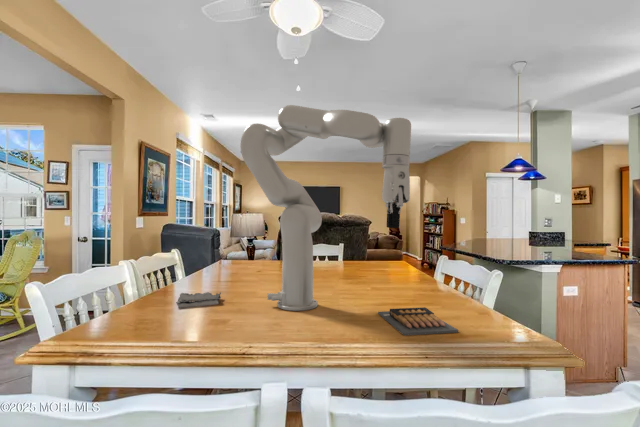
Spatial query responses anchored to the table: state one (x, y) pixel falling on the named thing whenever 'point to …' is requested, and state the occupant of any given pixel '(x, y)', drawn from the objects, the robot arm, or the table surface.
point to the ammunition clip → (416, 317)
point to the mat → (417, 331)
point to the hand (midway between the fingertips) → (392, 227)
